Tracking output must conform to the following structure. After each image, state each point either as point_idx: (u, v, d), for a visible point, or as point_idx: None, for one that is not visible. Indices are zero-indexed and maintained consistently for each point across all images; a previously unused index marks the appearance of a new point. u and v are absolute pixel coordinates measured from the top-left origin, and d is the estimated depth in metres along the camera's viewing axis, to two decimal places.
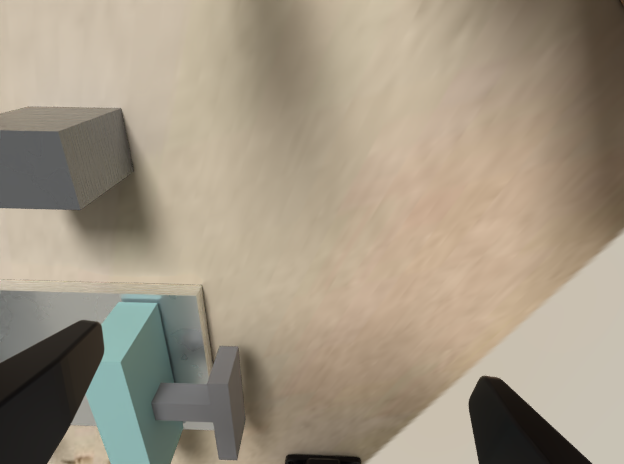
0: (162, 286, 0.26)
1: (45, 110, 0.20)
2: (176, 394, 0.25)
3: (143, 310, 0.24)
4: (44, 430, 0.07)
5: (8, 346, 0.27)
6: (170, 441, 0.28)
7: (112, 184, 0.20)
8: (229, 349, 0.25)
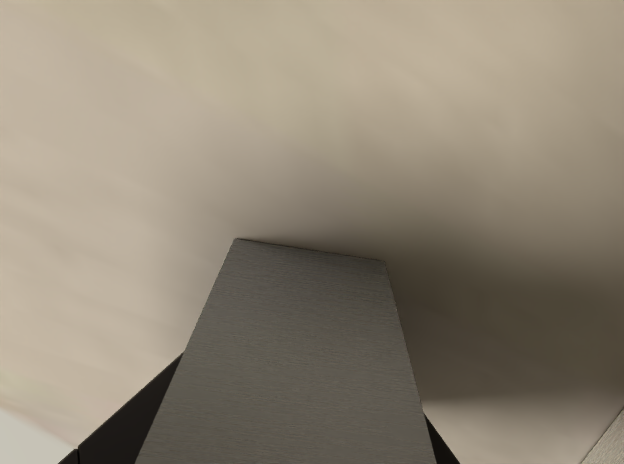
0: None
1: None
2: None
3: None
4: None
5: None
6: None
7: (397, 335, 0.07)
8: None
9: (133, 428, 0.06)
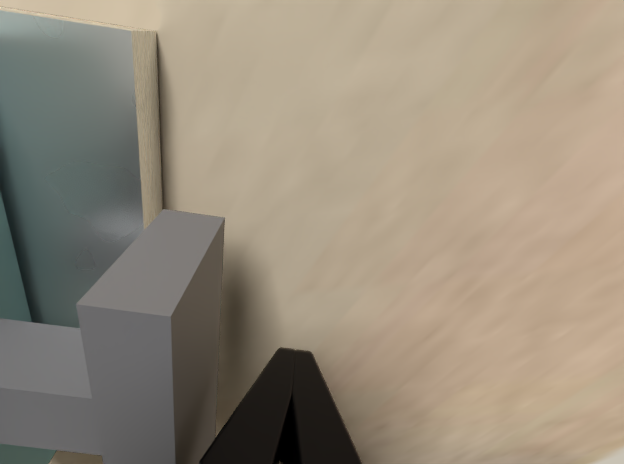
0: (26, 11, 0.08)
1: None
2: None
3: None
4: (278, 460, 0.07)
5: None
6: None
7: None
8: (194, 220, 0.07)
9: (246, 443, 0.06)
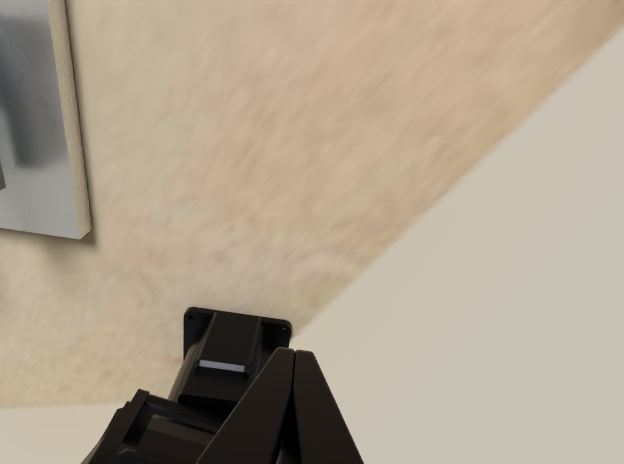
0: None
1: None
2: None
3: None
4: (277, 460, 0.07)
5: None
6: None
7: None
8: None
9: (244, 442, 0.06)
